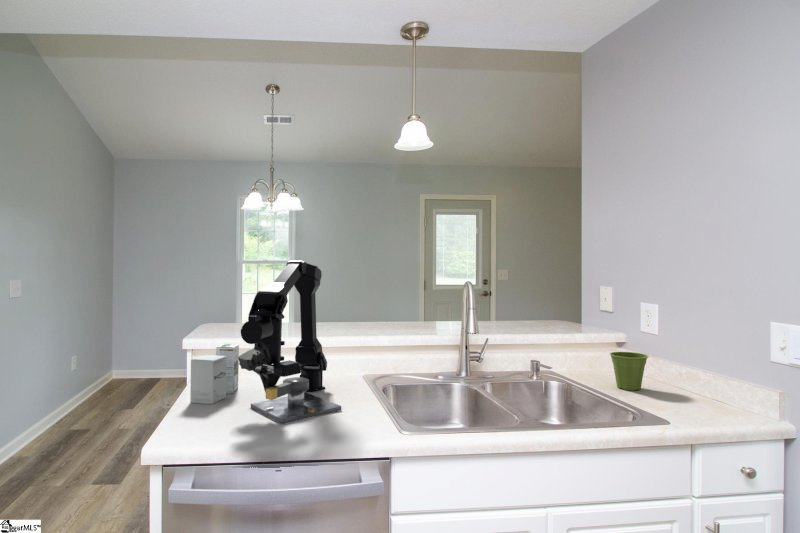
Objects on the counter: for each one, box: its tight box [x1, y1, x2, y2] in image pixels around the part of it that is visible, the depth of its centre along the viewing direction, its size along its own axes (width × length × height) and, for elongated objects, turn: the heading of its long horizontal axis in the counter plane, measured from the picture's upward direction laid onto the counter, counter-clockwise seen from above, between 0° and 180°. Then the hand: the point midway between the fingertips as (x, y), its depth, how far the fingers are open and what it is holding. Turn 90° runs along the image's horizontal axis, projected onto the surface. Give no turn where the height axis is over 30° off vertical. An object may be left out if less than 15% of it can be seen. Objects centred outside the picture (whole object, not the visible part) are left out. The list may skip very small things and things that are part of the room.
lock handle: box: [265, 376, 309, 400], centre depth 132 cm, size 15×7×3 cm, turn 154°
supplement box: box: [189, 354, 227, 405], centre depth 144 cm, size 7×7×13 cm
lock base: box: [250, 391, 342, 425], centre depth 136 cm, size 18×18×5 cm
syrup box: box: [215, 343, 240, 395], centre depth 153 cm, size 6×6×14 cm
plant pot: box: [609, 351, 649, 392], centre depth 163 cm, size 12×12×11 cm
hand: (268, 396), depth 130 cm, fingers closed
